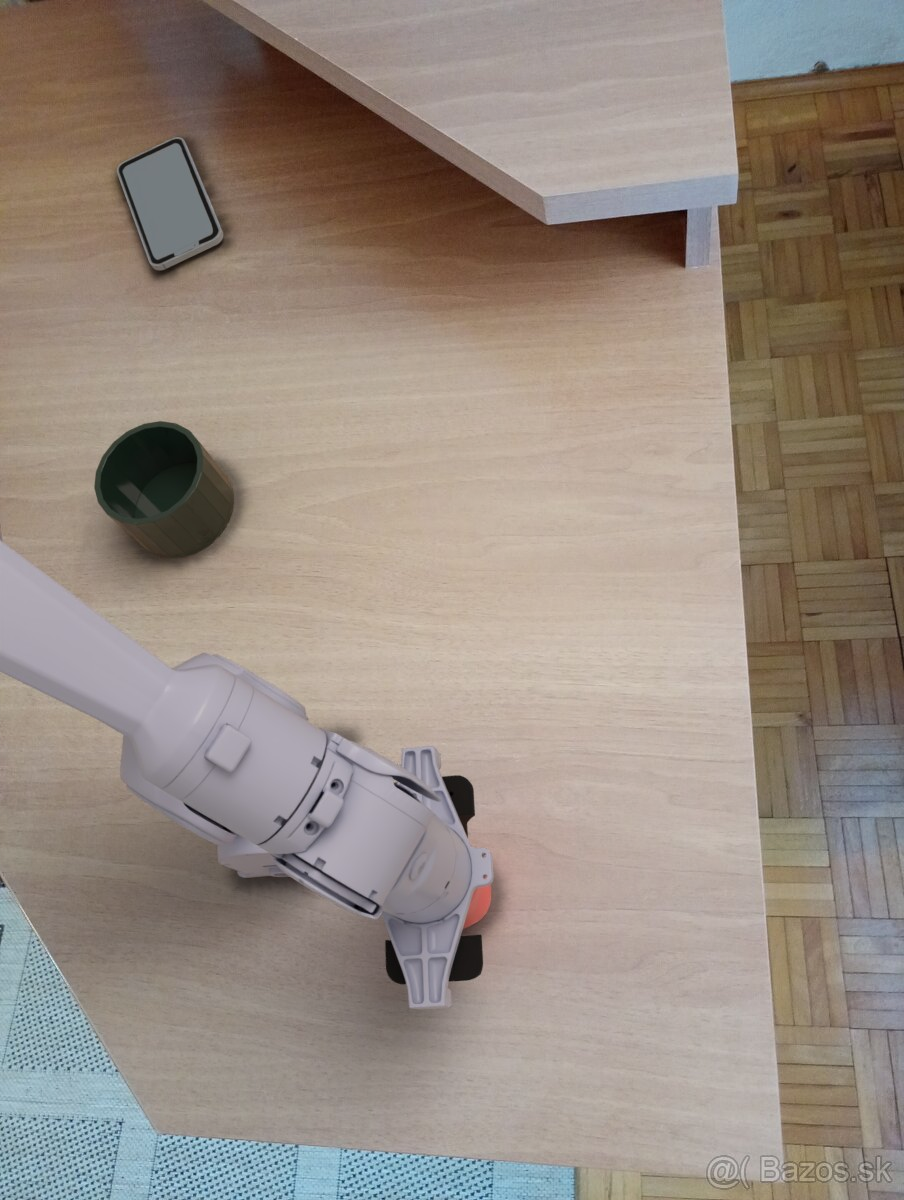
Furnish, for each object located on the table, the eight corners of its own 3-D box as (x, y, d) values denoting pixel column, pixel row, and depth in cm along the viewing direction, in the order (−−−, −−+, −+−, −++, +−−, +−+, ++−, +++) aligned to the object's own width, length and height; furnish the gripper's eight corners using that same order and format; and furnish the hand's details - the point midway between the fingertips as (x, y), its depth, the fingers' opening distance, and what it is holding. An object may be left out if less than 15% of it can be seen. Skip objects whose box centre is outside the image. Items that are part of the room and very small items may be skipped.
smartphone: (182, 133, 104) (224, 235, 98) (186, 141, 105) (228, 242, 99) (113, 166, 105) (151, 269, 98) (118, 173, 105) (155, 276, 99)
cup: (232, 550, 86) (200, 515, 80) (128, 564, 88) (89, 531, 82) (236, 453, 90) (205, 413, 84) (136, 468, 91) (99, 430, 85)
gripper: (485, 1000, 53) (523, 1008, 65) (470, 719, 59) (507, 775, 71) (348, 1008, 54) (411, 1015, 67) (346, 732, 60) (404, 785, 72)
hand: (454, 892), depth 69 cm, fingers open, 6 cm apart
